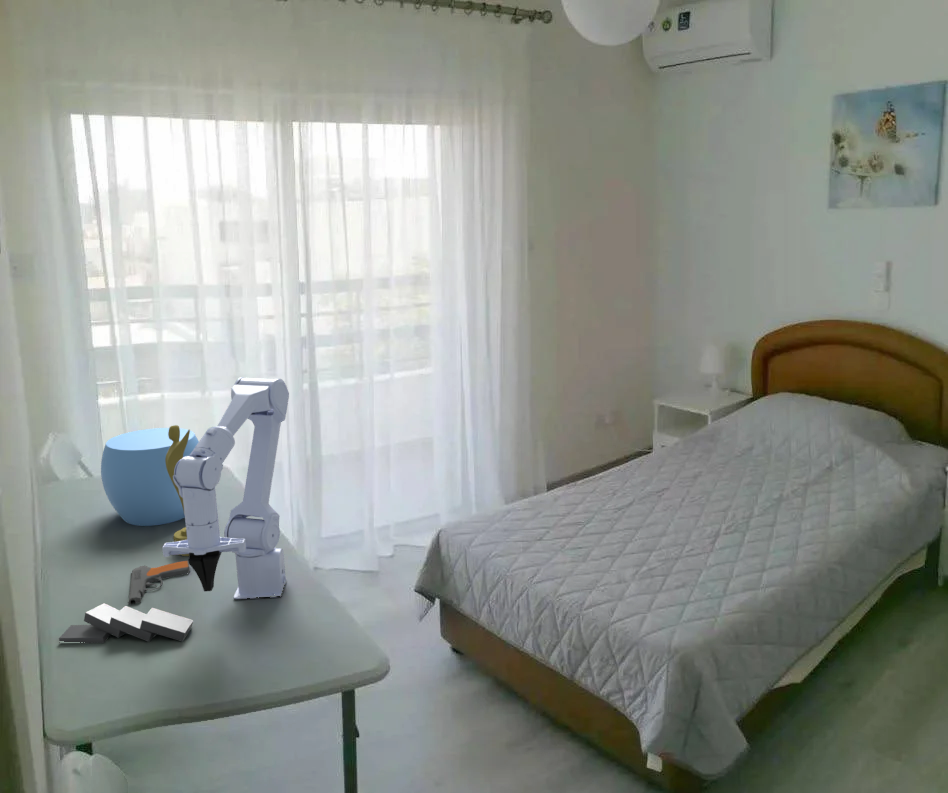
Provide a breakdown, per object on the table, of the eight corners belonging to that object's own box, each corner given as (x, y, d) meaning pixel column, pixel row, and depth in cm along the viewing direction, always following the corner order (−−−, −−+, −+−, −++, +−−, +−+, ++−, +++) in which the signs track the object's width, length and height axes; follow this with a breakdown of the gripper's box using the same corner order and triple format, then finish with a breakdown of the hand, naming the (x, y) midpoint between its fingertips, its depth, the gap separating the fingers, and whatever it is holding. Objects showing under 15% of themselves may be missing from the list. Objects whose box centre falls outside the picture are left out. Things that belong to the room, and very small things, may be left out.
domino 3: (193, 620, 156) (152, 607, 156) (184, 632, 151) (141, 620, 151) (191, 628, 157) (149, 616, 156) (182, 641, 152) (139, 628, 151)
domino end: (113, 624, 156) (70, 625, 156) (102, 637, 152) (58, 638, 152) (114, 632, 157) (72, 633, 157) (104, 646, 152) (60, 647, 152)
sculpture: (166, 548, 194) (153, 423, 188) (196, 539, 199) (184, 418, 193) (187, 562, 186) (173, 432, 180) (217, 552, 191) (205, 426, 185)
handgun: (191, 596, 171) (128, 606, 167) (189, 566, 185) (131, 575, 181) (190, 588, 170) (127, 598, 166) (188, 558, 185) (130, 567, 181)
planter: (181, 491, 234) (174, 421, 230) (227, 512, 217) (220, 436, 213) (91, 515, 217) (81, 440, 213) (133, 539, 200) (123, 458, 195)
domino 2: (164, 621, 156) (125, 605, 156) (151, 633, 151) (111, 617, 152) (162, 629, 156) (123, 614, 157) (148, 641, 152) (108, 625, 152)
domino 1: (138, 619, 157) (104, 603, 159) (119, 629, 152) (85, 612, 154) (136, 627, 157) (102, 611, 159) (118, 637, 153) (83, 621, 155)
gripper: (154, 530, 148) (162, 601, 151) (238, 526, 149) (244, 596, 152) (165, 516, 154) (173, 583, 157) (245, 512, 156) (251, 579, 159)
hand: (208, 588), depth 155 cm, fingers closed
